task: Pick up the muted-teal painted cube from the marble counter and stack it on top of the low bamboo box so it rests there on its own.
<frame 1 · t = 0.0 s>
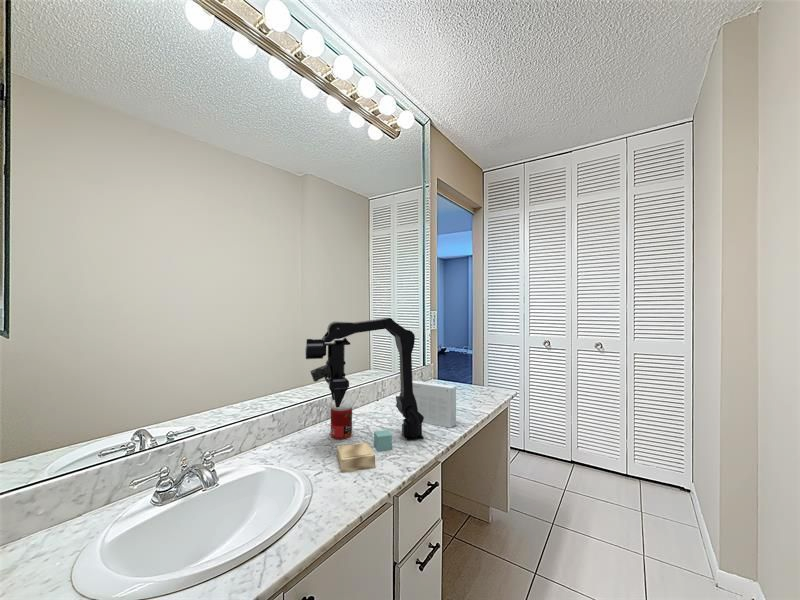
hand: (335, 403, 116), 15 cm above the table, fingers open, 9 cm apart
canned food: (341, 436, 125), on the table
teal cube: (382, 447, 114), on the table
bamboo box: (355, 463, 103), on the table
skincare box: (430, 422, 140), on the table
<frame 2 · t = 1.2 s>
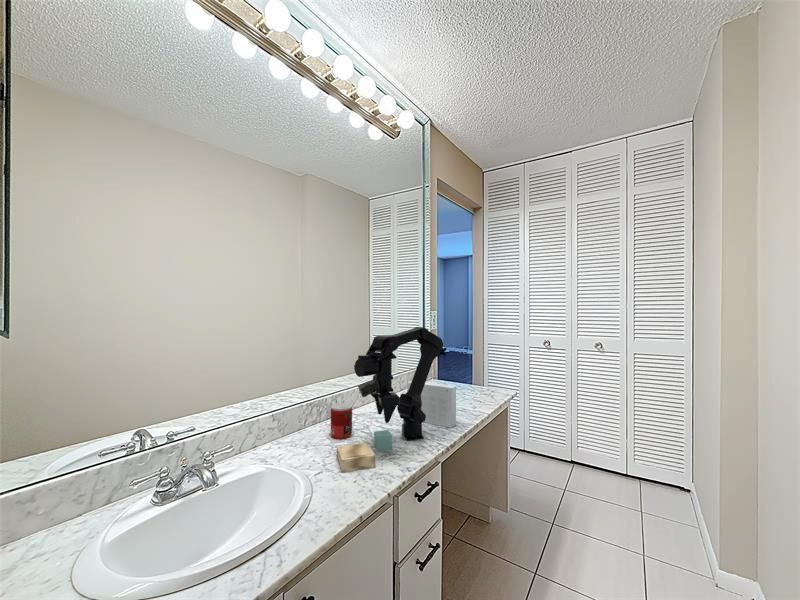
hand: (383, 418, 115), 10 cm above the table, fingers open, 9 cm apart
nothing on the table moved.
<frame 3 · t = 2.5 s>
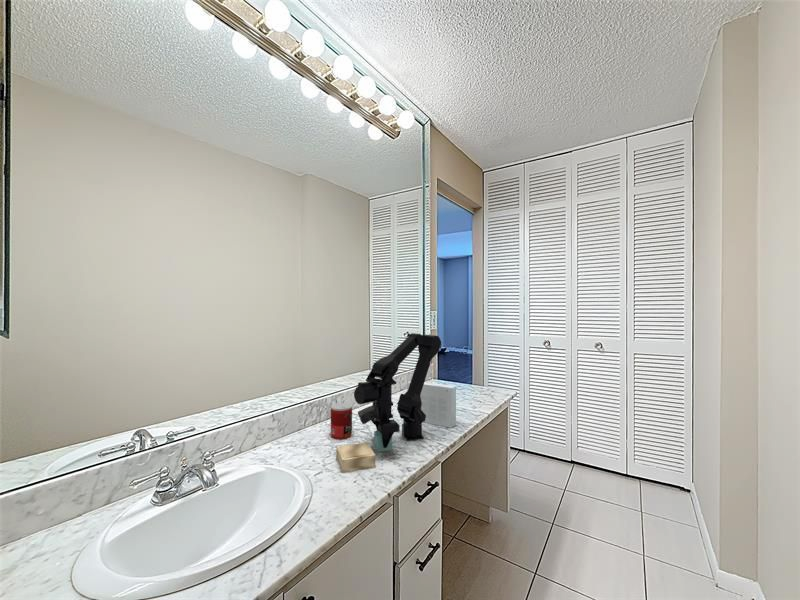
hand: (382, 444, 114), 1 cm above the table, fingers closed on teal cube, 5 cm apart
teal cube: (382, 447, 114), on the table, touching gripper
everything else where it was.
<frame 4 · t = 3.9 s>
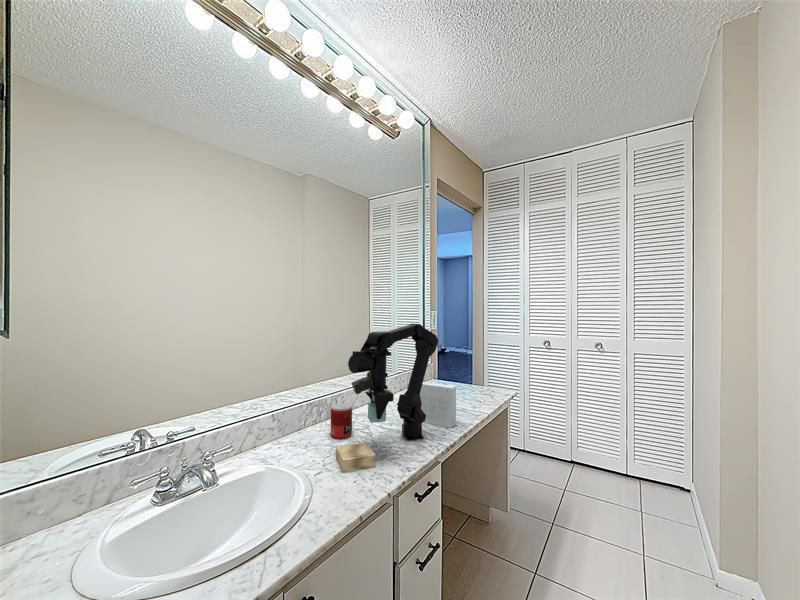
hand: (376, 416, 112), 11 cm above the table, fingers closed on teal cube, 5 cm apart
teal cube: (376, 419, 112), point 10 cm above the table, touching gripper
everything else where it was.
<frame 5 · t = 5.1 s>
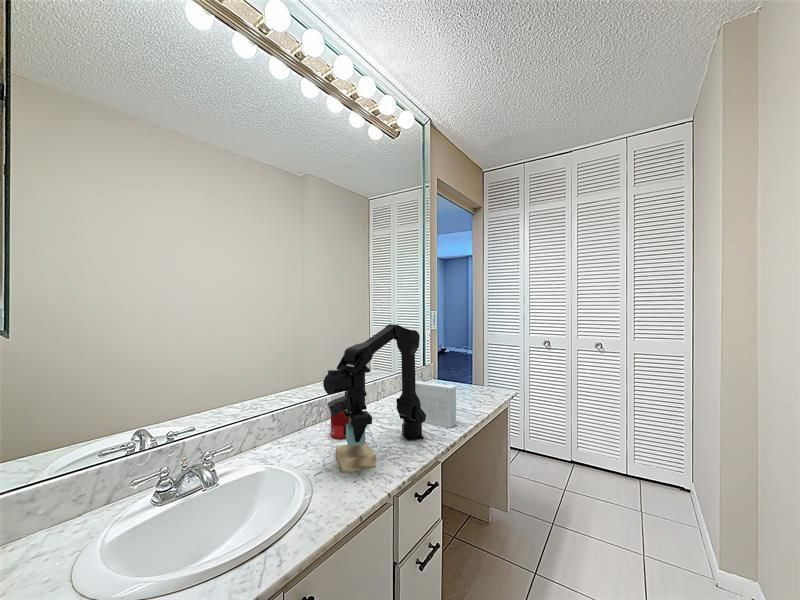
hand: (355, 438, 103), 7 cm above the table, fingers closed on teal cube, 5 cm apart
teal cube: (355, 442, 103), point 6 cm above the table, touching gripper
everything else where it was.
when the fingers open (6 cm above the table, at t = 5.6 s): teal cube drops 2 cm, resting on bamboo box.
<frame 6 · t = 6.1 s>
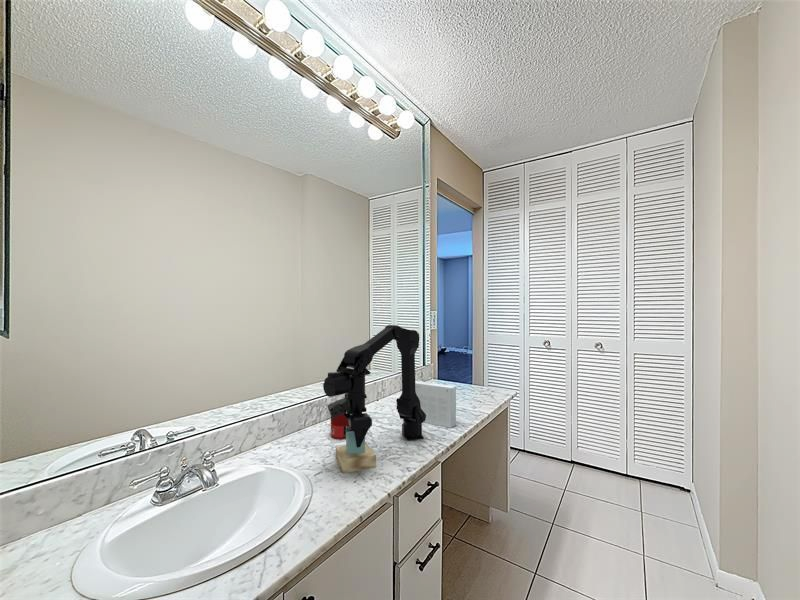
hand: (355, 441, 103), 6 cm above the table, fingers open, 9 cm apart
teal cube: (355, 450, 103), point 4 cm above the table, touching bamboo box
bamboo box: (355, 463, 103), on the table, touching teal cube
everything else where it was.
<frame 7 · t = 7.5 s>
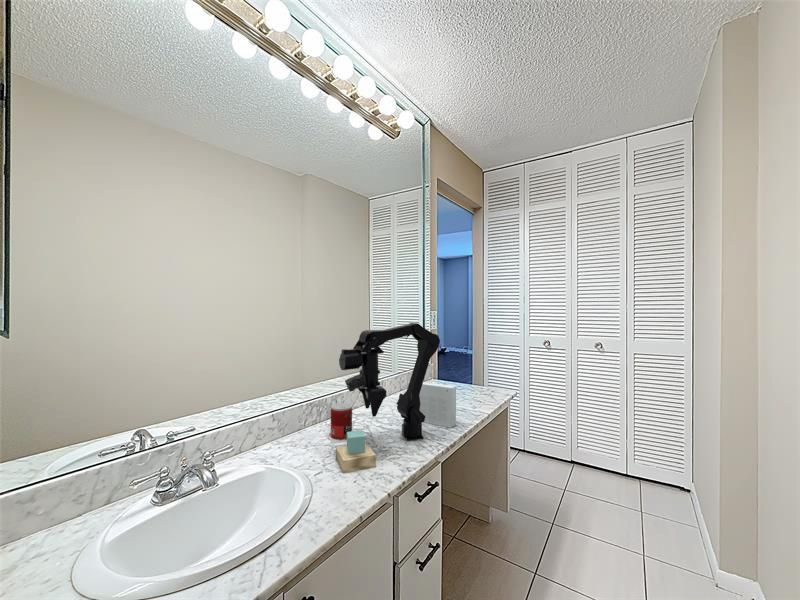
hand: (370, 412, 116), 12 cm above the table, fingers open, 9 cm apart
nothing on the table moved.
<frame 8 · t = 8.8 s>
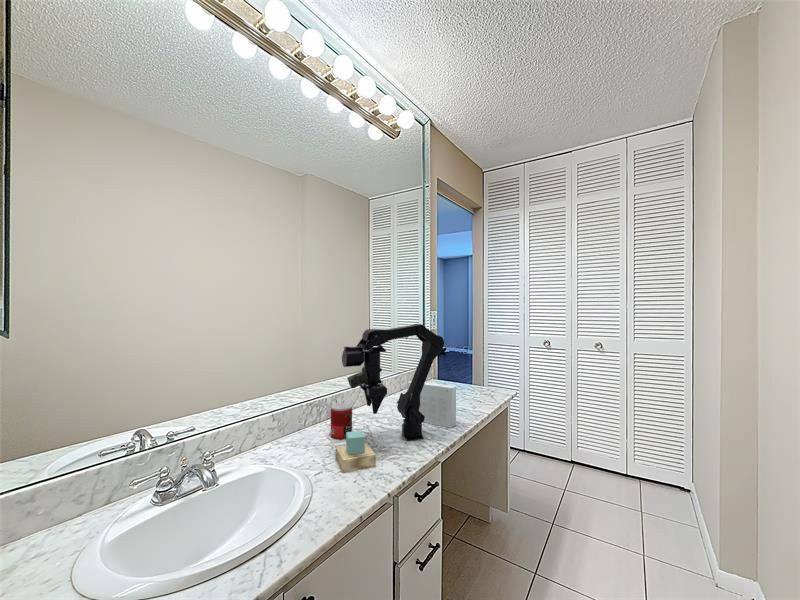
hand: (371, 409, 117), 12 cm above the table, fingers open, 9 cm apart
nothing on the table moved.
at the end: teal cube inside the target area on the bamboo box (0.7 cm from its centre), point 4.3 cm above the bamboo box's base; teal cube tilted 1°; the gripper is holding nothing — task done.
